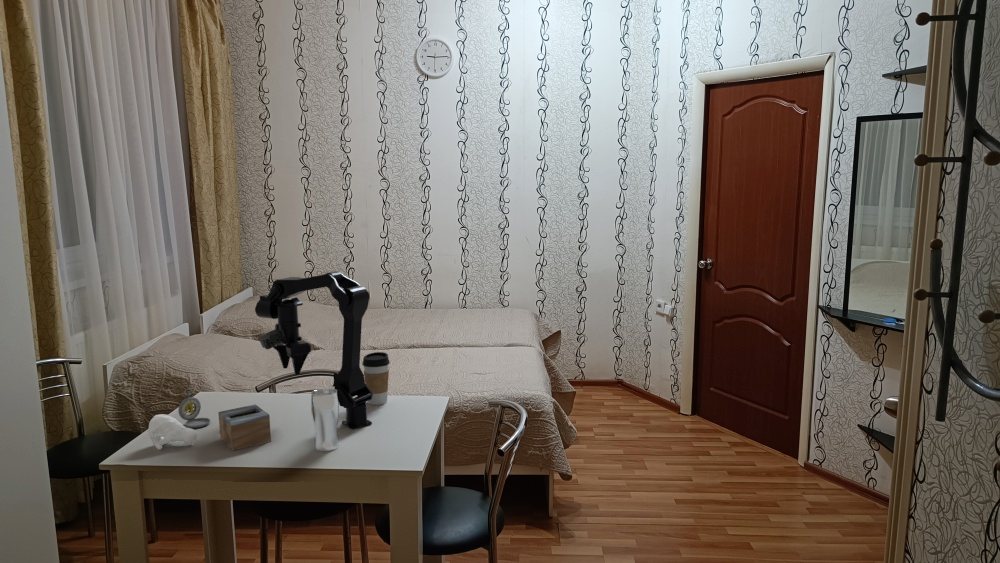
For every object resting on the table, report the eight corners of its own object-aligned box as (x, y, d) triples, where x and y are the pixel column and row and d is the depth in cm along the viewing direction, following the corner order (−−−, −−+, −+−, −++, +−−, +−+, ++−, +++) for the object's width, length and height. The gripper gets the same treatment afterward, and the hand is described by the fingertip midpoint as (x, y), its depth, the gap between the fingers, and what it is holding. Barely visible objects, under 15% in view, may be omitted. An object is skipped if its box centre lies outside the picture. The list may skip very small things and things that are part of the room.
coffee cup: (396, 399, 229) (394, 352, 227) (383, 407, 222) (381, 359, 219) (372, 396, 232) (370, 351, 230) (358, 404, 224) (356, 357, 222)
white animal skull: (156, 410, 195) (201, 413, 195) (155, 440, 196) (200, 443, 197) (145, 418, 189) (192, 421, 189) (145, 449, 190) (191, 452, 190)
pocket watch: (204, 429, 205) (201, 394, 204) (175, 429, 206) (172, 395, 204) (216, 419, 213) (213, 386, 212) (188, 419, 214) (185, 386, 212)
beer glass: (327, 454, 186) (324, 397, 183) (307, 448, 189) (304, 393, 187) (346, 445, 192) (343, 390, 189) (327, 440, 195) (324, 386, 193)
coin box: (271, 441, 195) (269, 414, 194) (233, 450, 189) (231, 422, 188) (257, 430, 204) (255, 404, 203) (220, 438, 198) (218, 411, 197)
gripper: (250, 319, 217) (253, 369, 219) (272, 329, 202) (276, 383, 205) (286, 314, 224) (289, 363, 226) (310, 323, 209) (313, 376, 211)
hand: (291, 371), depth 217 cm, fingers open, 9 cm apart
